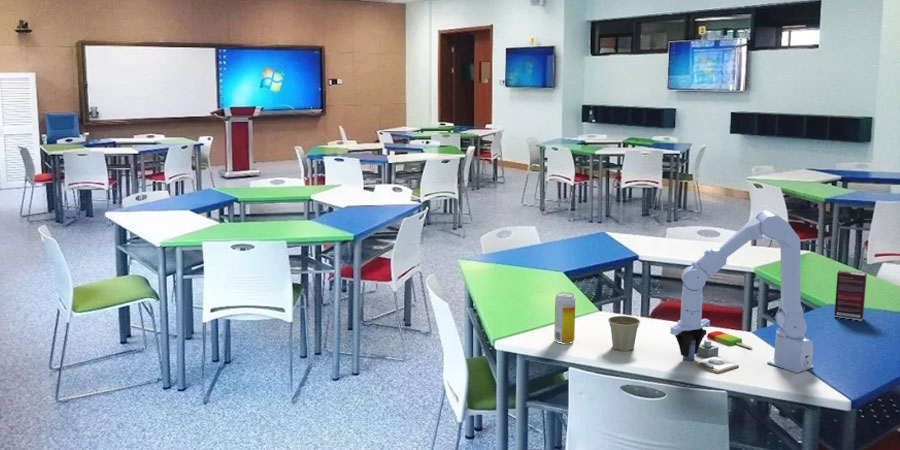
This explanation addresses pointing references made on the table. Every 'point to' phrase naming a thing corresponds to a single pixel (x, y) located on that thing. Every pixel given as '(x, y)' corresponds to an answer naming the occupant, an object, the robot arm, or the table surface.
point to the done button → (707, 344)
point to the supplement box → (850, 295)
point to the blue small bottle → (691, 351)
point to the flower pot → (623, 332)
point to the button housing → (708, 351)
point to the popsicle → (726, 339)
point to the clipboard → (715, 364)
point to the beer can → (564, 317)
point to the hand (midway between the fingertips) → (688, 354)
